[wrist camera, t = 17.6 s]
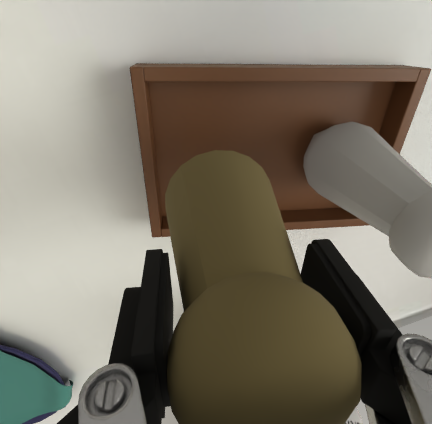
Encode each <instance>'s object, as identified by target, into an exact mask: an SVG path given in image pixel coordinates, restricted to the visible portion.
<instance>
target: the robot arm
mask: <svg viewBox="0 0 432 424" xmlns="http://www.w3.org/2000/svg"><path fill="white" fill-rule="evenodd" d="M301 278H302V281H303V283H304V284H306V285H308V286H309V287H311V288H312V289H314V290H316V291H317V292H319V293H320V294H321V295H322V296H323V297H324V298H325V299H326V300H327V301H328V302H329V303H330V304H331V305H332V306H333V307H334V308H335V310H336V311H337V313H338V314H339V316H340V318H341V319H342V321H343V323H344V324H345V326H346V328H347V329H348V331H349V333H350V334H351V336H352V337H353V339H354V341H355V343H356V347H357V350H358V353H359V357H360V360H361V363H362V372H361V396H360V398H361V400H362V402H363V403H364V404H365V407H366V411H367V415H368V420H369V424H432V340H430V339H428V338H426V337H424V336H420V335H417V334H405V335H402V334H401V332H400V331H399V330H398V328H397V327H396V326H395V324H394V323H393V322H392V320H391V319H390V318H389V316H388V315H387V314H386V312H385V311H384V310H383V308H382V307H381V306H380V304H379V303H378V302H377V301H376V299H375V298H374V297H373V295H372V294H371V293H370V291H369V290H368V289H367V287H366V286H365V285H364V283H363V282H362V281H361V279H360V278H359V277H358V276H357V275H356V274H355V273H354V271H353V270H352V269H351V267H350V266H349V265H348V263H347V262H346V261H345V259H344V258H343V257H342V255H341V254H340V253H339V251H338V250H337V249H336V247H335V246H334V245H333V243H332V242H331V241H330V240H329V239H321V240H313V241H312V243H311V244H308V246H307V250H306V254H305V258H304V262H303V267H302V271H301ZM172 335H173V298H172V287H171V277H170V267H169V257H168V253H163V251H162V249H157V250H147V251H146V257H145V264H144V270H143V277H142V283H141V287H133V288H126V289H125V291H124V294H123V299H122V304H121V308H120V313H119V318H118V322H117V327H116V332H115V336H114V341H113V345H112V350H111V355H110V359H109V364H108V365H106V366H104V367H102V368H100V369H98V370H97V371H96V372H94V373H93V374H92V375H91V376H90V377H89V378H88V379H87V381H86V382H85V383H84V385H83V387H82V389H81V392H80V394H79V401H78V405H77V406H76V407H75V408H74V409H72V410H71V411H70V412H69V413H68V414H67V415H66V416H65V417H64V418H63V419H61V420H60V421H59V422H58V423H57V424H161V420H162V418H164V417H165V407H167V406H171V404H170V399H169V394H168V389H167V358H168V349H169V345H170V342H171V339H172Z"/></svg>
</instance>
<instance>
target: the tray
mask: <svg viewBox="0 0 432 424" xmlns="http://www.w3.org/2000/svg"><path fill="white" fill-rule="evenodd" d="M430 71H431V69H429V68H421V67H412V66H404V65H282V64H147V63H136V64H135V65H133V66H131V67H130V73H131V81H132V89H133V96H134V104H135V111H136V119H137V126H138V134H139V142H140V149H141V157H142V164H143V172H144V179H145V187H146V195H147V202H148V210H149V217H150V225H151V232H152V237H161V236H162V237H168V236H170V231H169V225H168V220H167V214H166V207H165V193H166V190H167V187H168V184H169V181H170V179H171V177H172V176H173V175H174V174H175V172H176V171H177V170H178V169H179V167H180V166H181V165H182V164H184V163H185V162H187V161H189V160H190V159H192V158H193V157H195V156H196V155H199V154H203V153H207V152H210V151H214V150H223V151H235V152H238V153H240V154H243V155H246V156H249V157H250V158H252V159H253V160H254V161H255V162H257V163H258V164H259V165H260V166H261V167H262V168H263V169H264V171H265V173H266V175H267V176H268V178H269V180H270V183H271V186H272V189H273V192H274V195H275V198H276V201H277V204H278V207H279V210H280V213H281V216H282V219H283V223H284V226H285V229H286V230H293V229H311V228H329V227H347V226H364V225H369V224H368V223H366V222H364V221H363V220H361V219H359V218H358V217H356V216H354V215H353V214H351V213H349V212H348V211H346V210H344V209H343V208H341V207H339V206H338V205H336V204H334V203H333V202H331V201H330V200H328V199H326V198H325V197H323V196H321V195H320V194H318V193H317V192H316V191H315V190H314V189H313V188H312V187H311V186H310V185H309V184H308V181H307V178H306V175H305V171H304V167H303V164H304V155H305V153H306V150H307V148H308V146H309V144H310V142H311V140H312V138H313V135H314V134H316V133H319V132H321V131H324V130H326V129H328V128H330V127H332V126H334V125H337V124H342V123H347V122H356V123H359V124H362V125H365V126H369V127H371V128H372V129H374V130H375V131H376V132H377V133H378V134H379V135H380V136H381V137H382V138H383V139H384V140H385V141H386V142H387V143H388V144H389V145H390V146H391V147H392V148H393V149H395V150H396V151H397V152H398V153H399V154H400V151H401V149H402V146H403V143H404V141H405V138H406V135H407V133H408V130H409V127H410V125H411V122H412V119H413V117H414V114H415V111H416V109H417V106H418V103H419V101H420V98H421V95H422V93H423V90H424V87H425V85H426V82H427V79H428V77H429V74H430Z"/></svg>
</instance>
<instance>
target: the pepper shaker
mask: <svg viewBox="0 0 432 424" xmlns="http://www.w3.org/2000/svg"><path fill="white" fill-rule="evenodd" d="M165 207H166V214H167V220H168V225H169V231H170V236H171V242H172V248H173V253H174V259H175V264H176V270H177V275H178V281H179V286H180V292H181V297H182V303H183V308H184V313H183V314H182V315H181V317H180V319H179V322H178V324H177V326H176V328H175V330H174V332H173V335H172V339H171V342H170V345H169V349H168V358H167V389H168V394H169V399H170V404H171V409H172V412H173V414H174V416H175V418H176V419H177V421H178V423H179V424H345V422H346V421H347V419H348V418H349V417H350V415H351V414H352V412H353V411H354V409H355V408H356V406H357V405H358V403H359V402H360V396H361V372H362V363H361V360H360V357H359V353H358V350H357V347H356V343H355V341H354V339H353V337H352V336H351V334H350V333H349V331H348V329H347V328H346V326H345V324H344V323H343V321H342V319H341V318H340V316H339V314H338V313H337V311H336V310H335V308H334V307H333V306H332V305H331V304H330V303H329V302H328V301H327V300H326V299H325V298H324V297H323V296H322V295H321V294H320V293H319V292H317V291H316V290H314V289H312V288H311V287H309V286H308V285H306V284H304V283H303V281H302V278H301V275H300V272H299V269H298V266H297V263H296V259H295V256H294V253H293V250H292V247H291V244H290V241H289V238H288V235H287V232H286V229H285V226H284V223H283V219H282V216H281V213H280V210H279V207H278V204H277V201H276V198H275V195H274V192H273V189H272V186H271V183H270V180H269V178H268V176H267V175H266V173H265V171H264V169H263V168H262V167H261V166H260V165H259V164H258V163H257V162H255V161H254V160H253V159H252V158H250V157H249V156H246V155H243V154H240V153H238V152H235V151H223V150H214V151H210V152H207V153H203V154H199V155H196V156H195V157H193V158H192V159H190V160H189V161H187V162H185V163H184V164H182V165H181V166H180V167H179V169H178V170H177V171H176V172H175V174H174V175H173V176H172V177H171V179H170V181H169V184H168V187H167V190H166V193H165Z"/></svg>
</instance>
